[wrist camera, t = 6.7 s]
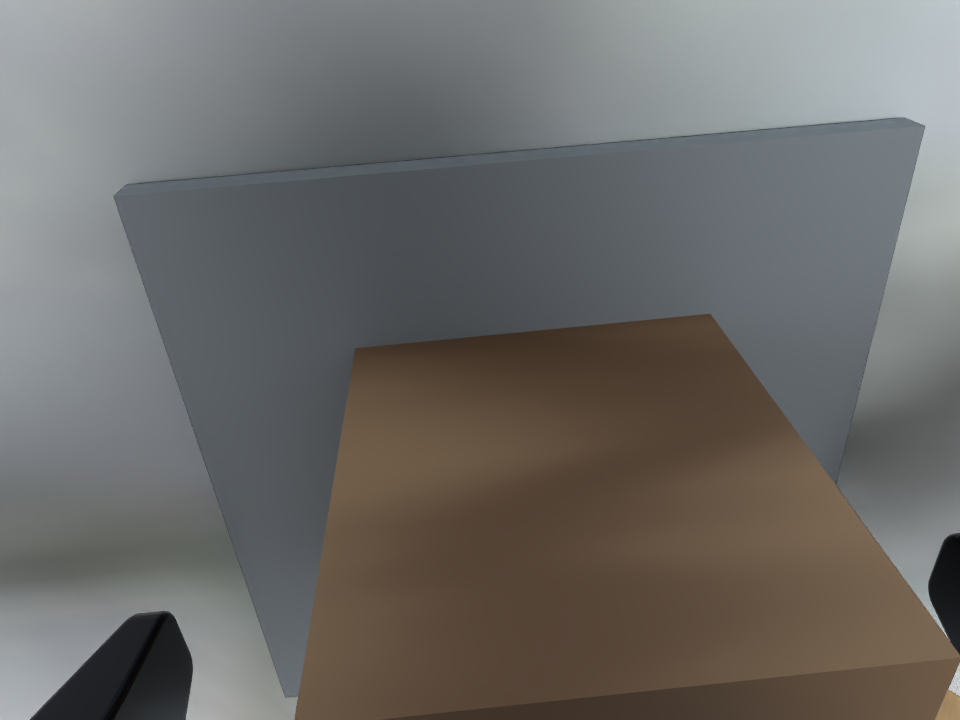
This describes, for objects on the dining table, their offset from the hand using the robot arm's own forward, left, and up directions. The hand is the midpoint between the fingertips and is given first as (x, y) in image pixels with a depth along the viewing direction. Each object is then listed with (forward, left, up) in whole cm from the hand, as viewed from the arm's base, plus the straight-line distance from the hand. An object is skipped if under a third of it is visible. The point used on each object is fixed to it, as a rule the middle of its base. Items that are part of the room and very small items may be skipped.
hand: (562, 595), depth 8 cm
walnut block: (0, 0, -2) cm, 2 cm away
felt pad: (0, 0, -3) cm, 3 cm away
